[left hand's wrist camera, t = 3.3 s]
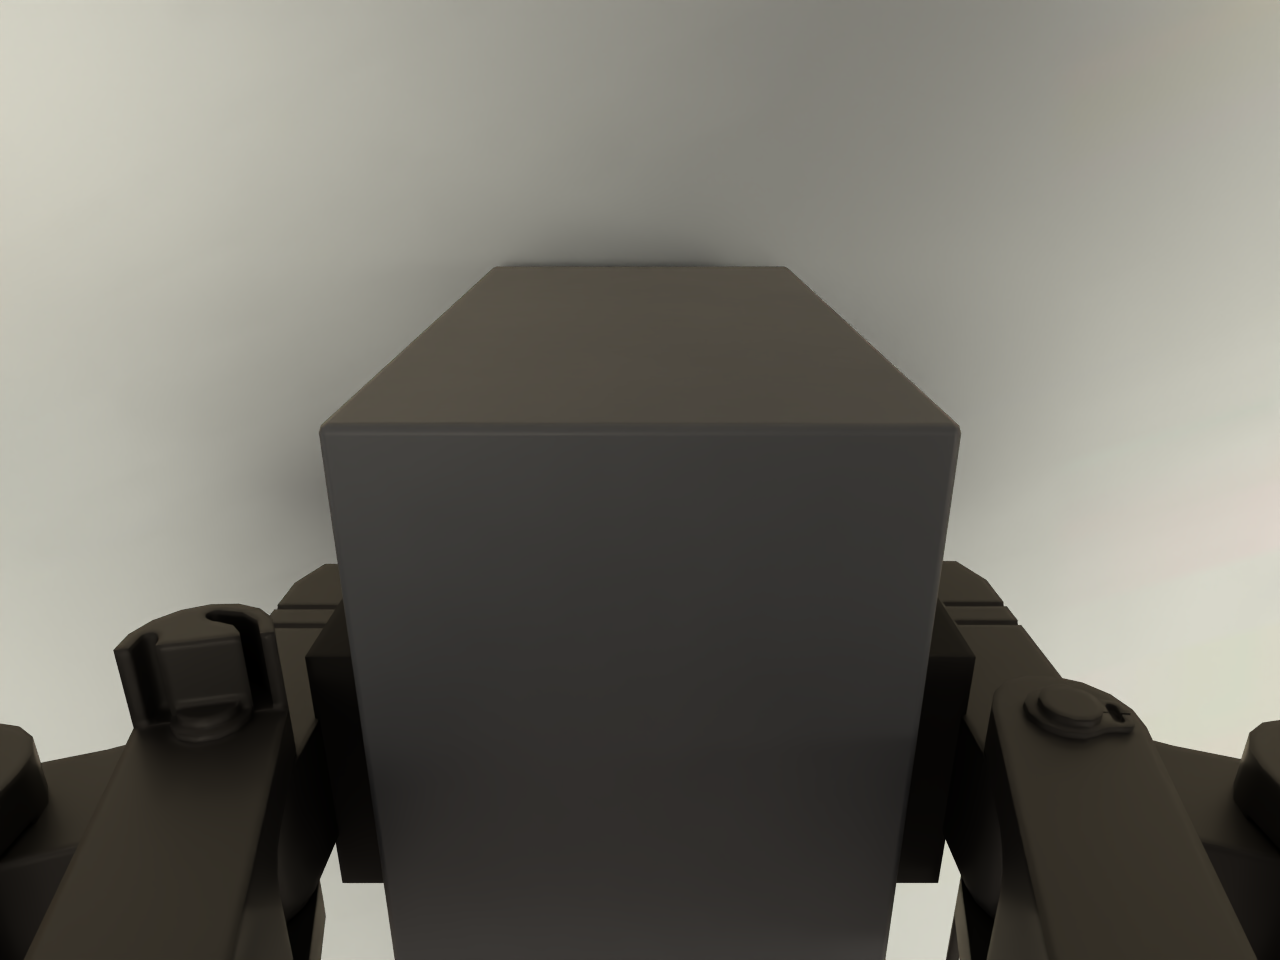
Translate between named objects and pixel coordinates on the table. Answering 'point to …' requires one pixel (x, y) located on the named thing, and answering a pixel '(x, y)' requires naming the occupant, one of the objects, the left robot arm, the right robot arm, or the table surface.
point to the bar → (640, 617)
